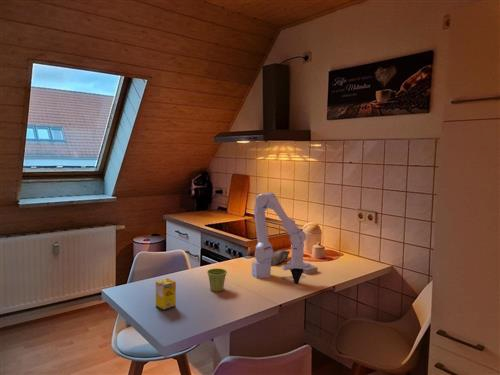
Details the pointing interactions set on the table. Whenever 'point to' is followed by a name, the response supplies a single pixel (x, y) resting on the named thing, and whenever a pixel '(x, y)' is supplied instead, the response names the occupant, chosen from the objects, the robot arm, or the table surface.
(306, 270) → the brick
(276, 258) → the decorative bottle
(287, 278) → the laid board
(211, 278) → the plant pot
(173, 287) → the supplement box
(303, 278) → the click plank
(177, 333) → the table surface
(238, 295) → the table surface
